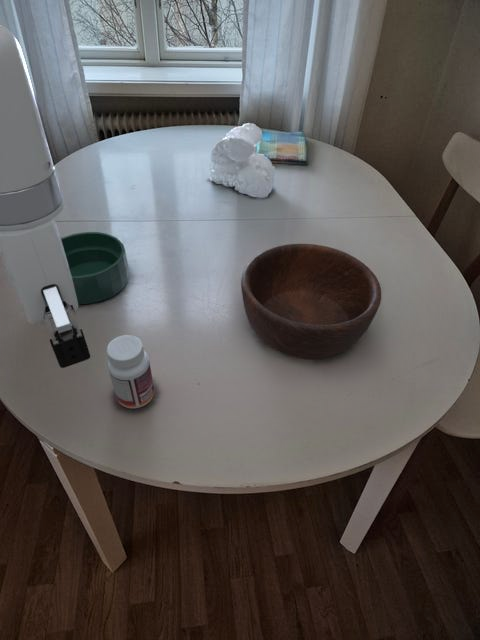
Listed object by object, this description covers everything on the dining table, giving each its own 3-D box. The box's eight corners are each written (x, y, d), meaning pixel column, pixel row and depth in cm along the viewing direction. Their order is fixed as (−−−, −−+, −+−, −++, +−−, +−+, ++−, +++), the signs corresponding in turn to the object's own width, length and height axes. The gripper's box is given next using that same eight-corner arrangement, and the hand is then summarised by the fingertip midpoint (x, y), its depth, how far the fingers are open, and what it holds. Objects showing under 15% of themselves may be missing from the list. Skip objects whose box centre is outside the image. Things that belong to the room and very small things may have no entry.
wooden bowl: (263, 384, 72) (267, 342, 65) (225, 293, 90) (225, 251, 83) (393, 356, 78) (410, 314, 71) (334, 275, 95) (343, 235, 88)
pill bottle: (152, 376, 73) (144, 329, 65) (156, 406, 69) (148, 358, 61) (115, 383, 72) (102, 335, 64) (117, 413, 67) (103, 366, 60)
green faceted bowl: (53, 313, 84) (43, 285, 79) (48, 266, 95) (38, 239, 90) (136, 295, 88) (131, 267, 84) (122, 253, 99) (117, 226, 94)
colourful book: (304, 138, 155) (305, 131, 153) (308, 165, 137) (309, 157, 136) (257, 136, 155) (257, 128, 153) (255, 162, 138) (255, 155, 136)
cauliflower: (288, 175, 111) (226, 125, 107) (245, 228, 123) (188, 185, 119) (298, 151, 125) (243, 106, 121) (258, 201, 138) (208, 161, 133)
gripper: (-42, 164, 41) (16, 300, 53) (-21, 256, 30) (46, 401, 42) (39, 151, 44) (78, 282, 56) (85, 230, 33) (121, 372, 45)
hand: (64, 333), depth 49 cm, fingers open, 9 cm apart
